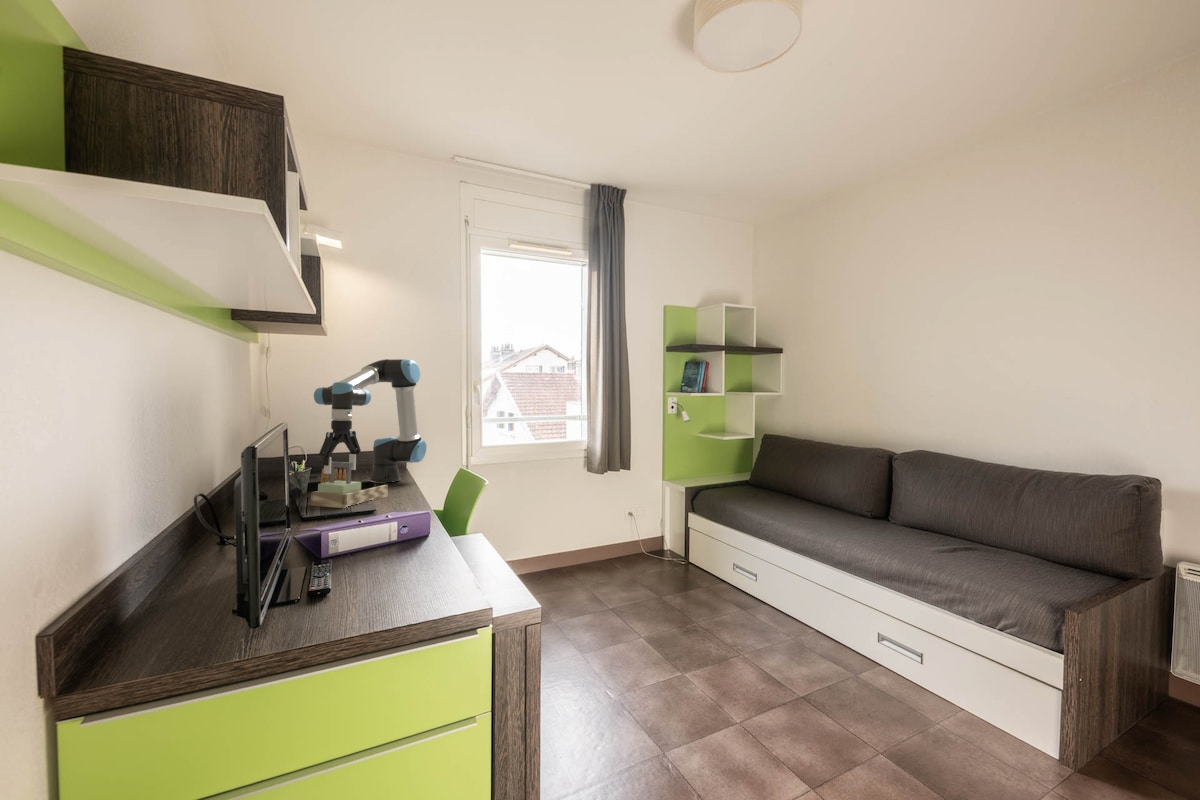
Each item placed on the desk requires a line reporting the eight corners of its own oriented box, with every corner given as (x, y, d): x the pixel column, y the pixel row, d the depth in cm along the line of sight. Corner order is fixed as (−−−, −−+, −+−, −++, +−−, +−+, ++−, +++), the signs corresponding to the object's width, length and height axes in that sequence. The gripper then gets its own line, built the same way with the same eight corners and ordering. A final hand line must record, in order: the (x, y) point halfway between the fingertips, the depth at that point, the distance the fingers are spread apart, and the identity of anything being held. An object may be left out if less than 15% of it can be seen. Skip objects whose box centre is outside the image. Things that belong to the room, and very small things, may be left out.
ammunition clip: (346, 494, 223) (347, 467, 223) (345, 494, 221) (346, 468, 221) (320, 494, 221) (321, 467, 221) (319, 495, 219) (320, 468, 219)
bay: (356, 494, 223) (357, 482, 223) (387, 496, 219) (387, 484, 219) (310, 505, 197) (310, 492, 197) (344, 508, 194) (344, 495, 194)
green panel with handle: (336, 496, 208) (337, 460, 208) (360, 498, 205) (361, 461, 205) (317, 501, 198) (318, 462, 198) (343, 503, 196) (344, 464, 196)
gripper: (325, 420, 189) (324, 476, 189) (370, 419, 213) (369, 468, 213) (309, 420, 191) (307, 475, 191) (355, 419, 215) (354, 467, 215)
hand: (340, 471), depth 202 cm, fingers open, 13 cm apart
